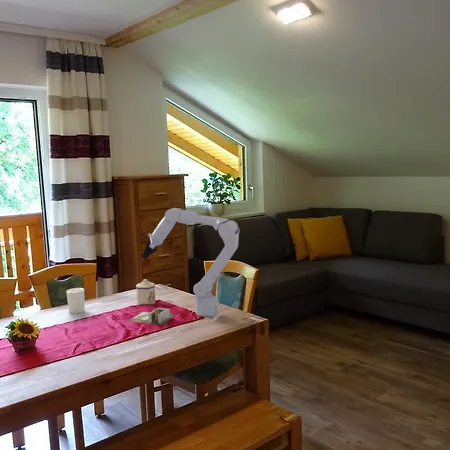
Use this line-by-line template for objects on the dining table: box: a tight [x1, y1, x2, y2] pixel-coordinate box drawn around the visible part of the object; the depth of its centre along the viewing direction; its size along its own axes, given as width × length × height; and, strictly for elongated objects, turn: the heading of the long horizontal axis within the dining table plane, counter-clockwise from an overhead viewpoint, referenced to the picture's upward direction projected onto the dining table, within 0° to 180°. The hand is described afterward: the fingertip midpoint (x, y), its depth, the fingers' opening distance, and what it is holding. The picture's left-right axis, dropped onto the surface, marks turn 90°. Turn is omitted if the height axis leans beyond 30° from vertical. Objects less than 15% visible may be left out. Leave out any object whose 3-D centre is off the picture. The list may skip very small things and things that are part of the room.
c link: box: [148, 307, 171, 325], centre depth 208 cm, size 8×6×4 cm
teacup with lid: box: [135, 279, 156, 306], centre depth 237 cm, size 12×9×12 cm
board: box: [128, 307, 176, 325], centre depth 211 cm, size 16×13×6 cm
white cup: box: [66, 287, 86, 314], centre depth 226 cm, size 8×8×10 cm
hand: (145, 254), depth 220 cm, fingers open, 7 cm apart
